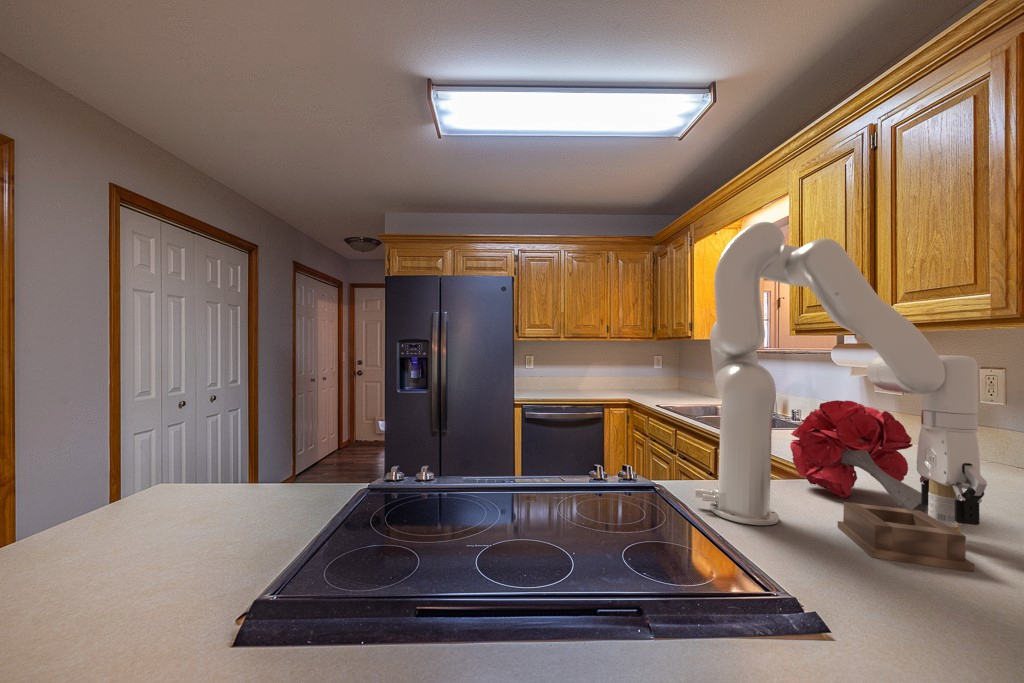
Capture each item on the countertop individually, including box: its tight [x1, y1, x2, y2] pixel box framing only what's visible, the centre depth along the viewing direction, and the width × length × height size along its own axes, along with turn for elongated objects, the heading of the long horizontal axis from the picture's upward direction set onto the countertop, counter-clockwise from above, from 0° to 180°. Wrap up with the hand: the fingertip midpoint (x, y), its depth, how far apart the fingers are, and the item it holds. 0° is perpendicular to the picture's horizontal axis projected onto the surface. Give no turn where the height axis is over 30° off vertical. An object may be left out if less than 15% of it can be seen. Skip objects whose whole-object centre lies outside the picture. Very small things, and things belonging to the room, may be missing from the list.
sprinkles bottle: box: [927, 468, 962, 533], centre depth 82 cm, size 5×5×13 cm
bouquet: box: [789, 400, 928, 514], centre depth 106 cm, size 22×24×30 cm
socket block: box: [837, 501, 975, 573], centre depth 79 cm, size 14×14×5 cm
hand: (948, 514), depth 82 cm, fingers open, 9 cm apart
